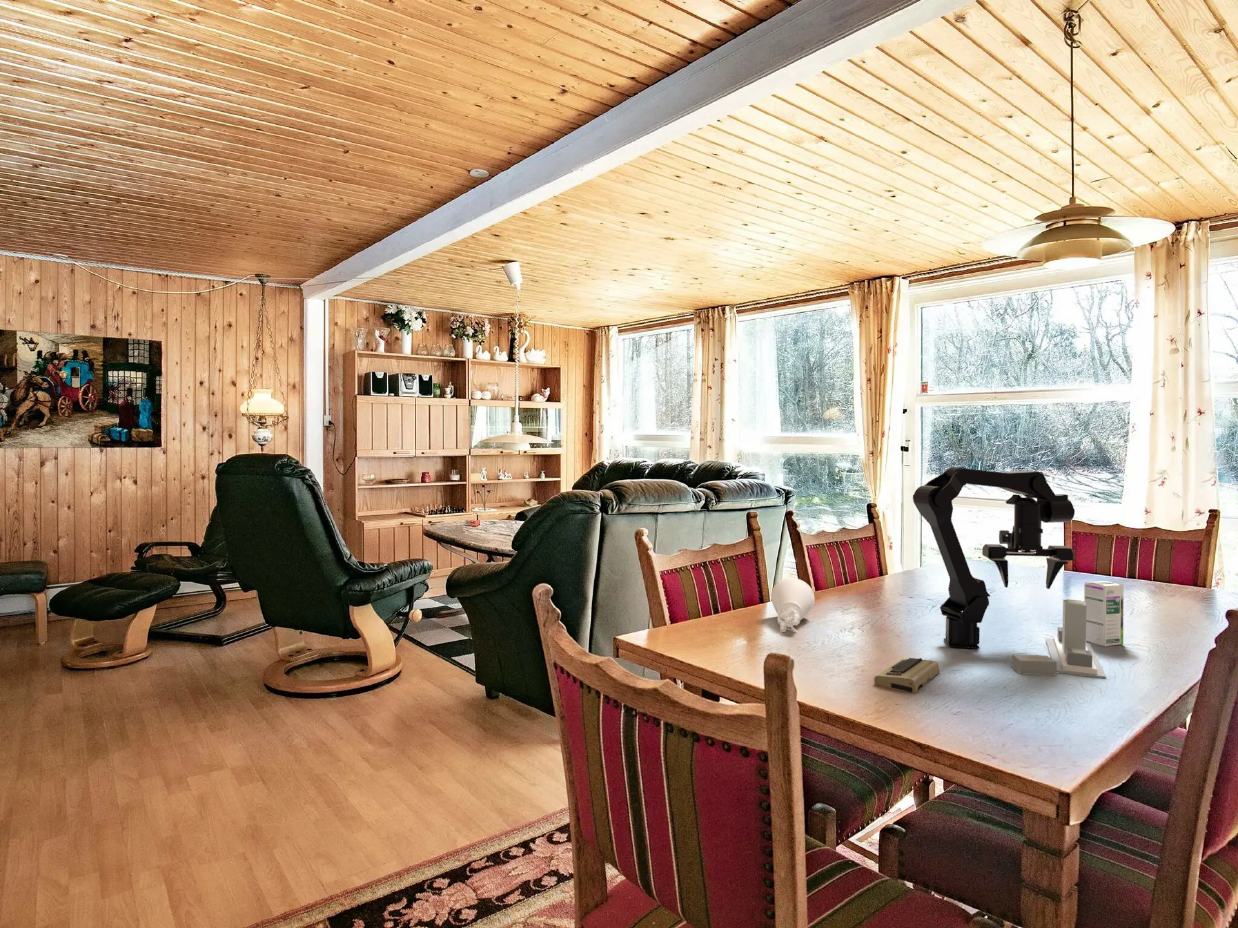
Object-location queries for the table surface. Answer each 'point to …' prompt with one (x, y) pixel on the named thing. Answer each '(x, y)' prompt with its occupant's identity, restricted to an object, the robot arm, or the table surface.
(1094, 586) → the syrup box
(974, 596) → the robot arm
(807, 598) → the rocket engine
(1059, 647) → the rail
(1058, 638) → the module far
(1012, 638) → the table surface
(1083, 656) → the module near
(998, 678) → the table surface
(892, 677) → the computer
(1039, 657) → the block
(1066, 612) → the panel
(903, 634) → the table surface
